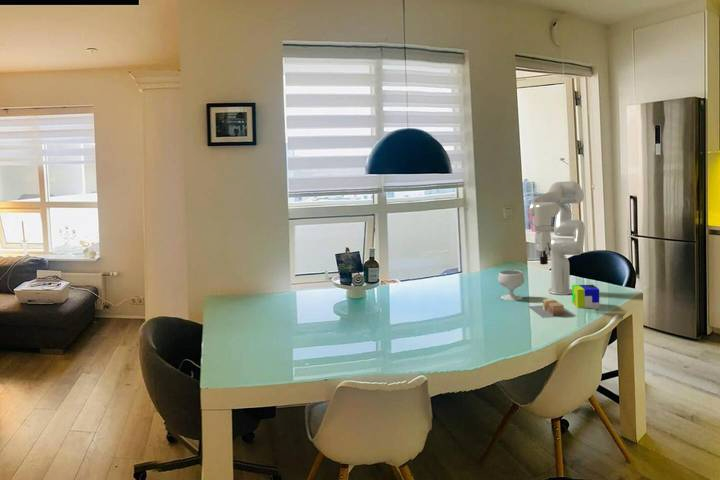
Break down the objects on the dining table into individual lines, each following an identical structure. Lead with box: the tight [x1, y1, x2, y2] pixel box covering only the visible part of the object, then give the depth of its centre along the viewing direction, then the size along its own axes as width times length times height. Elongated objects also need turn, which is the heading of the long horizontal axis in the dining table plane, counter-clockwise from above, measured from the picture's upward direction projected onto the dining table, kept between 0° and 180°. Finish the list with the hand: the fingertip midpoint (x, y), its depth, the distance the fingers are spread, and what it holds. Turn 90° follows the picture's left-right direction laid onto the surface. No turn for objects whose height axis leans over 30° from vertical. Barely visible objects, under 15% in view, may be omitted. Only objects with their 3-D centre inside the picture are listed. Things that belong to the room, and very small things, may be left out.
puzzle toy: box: [571, 284, 600, 310], centre depth 226 cm, size 10×10×10 cm
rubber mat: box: [527, 304, 577, 319], centre depth 221 cm, size 20×16×1 cm
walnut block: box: [542, 298, 565, 316], centre depth 218 cm, size 5×5×12 cm
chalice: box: [497, 269, 525, 301], centre depth 249 cm, size 14×14×15 cm
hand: (543, 264), depth 226 cm, fingers closed
